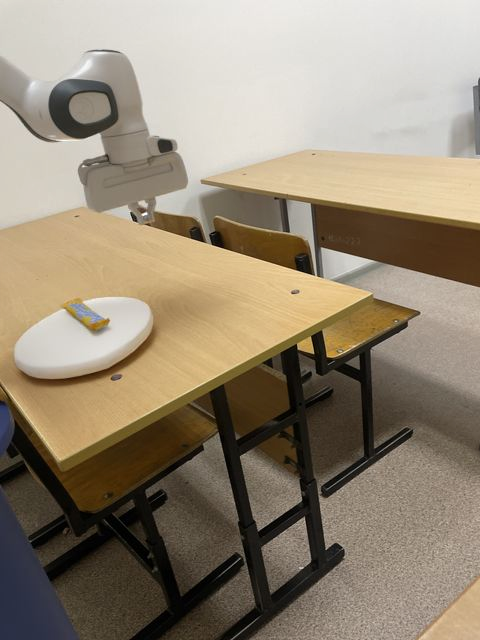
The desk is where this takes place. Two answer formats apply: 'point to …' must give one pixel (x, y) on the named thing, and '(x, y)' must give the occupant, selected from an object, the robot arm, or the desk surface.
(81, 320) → the candy bar
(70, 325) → the plate
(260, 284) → the desk surface
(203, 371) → the desk surface
